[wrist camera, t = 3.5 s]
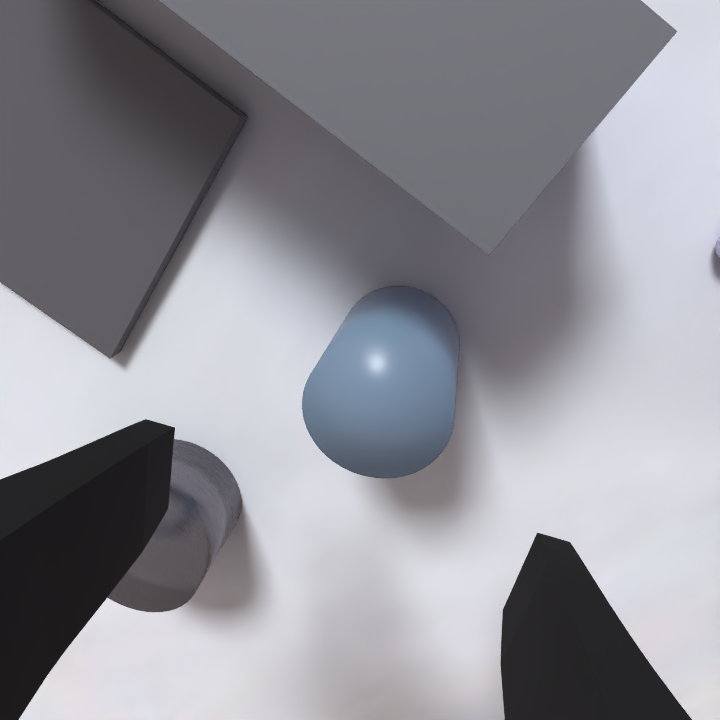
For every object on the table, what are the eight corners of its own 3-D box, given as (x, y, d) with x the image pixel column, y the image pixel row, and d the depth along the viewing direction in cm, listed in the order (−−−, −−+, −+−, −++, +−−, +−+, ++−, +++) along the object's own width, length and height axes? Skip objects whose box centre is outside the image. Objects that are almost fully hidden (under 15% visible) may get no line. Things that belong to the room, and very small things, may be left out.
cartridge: (484, 335, 19) (487, 406, 14) (410, 416, 20) (392, 503, 16) (386, 261, 18) (357, 310, 14) (320, 350, 20) (275, 420, 16)
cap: (263, 488, 23) (224, 558, 19) (207, 558, 25) (162, 632, 22) (159, 415, 23) (99, 474, 19) (111, 493, 25) (48, 559, 21)
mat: (247, 116, 17) (240, 117, 17) (119, 352, 22) (110, 358, 21) (-40, -102, 16) (-57, -109, 16) (-115, 188, 21) (-131, 191, 20)
